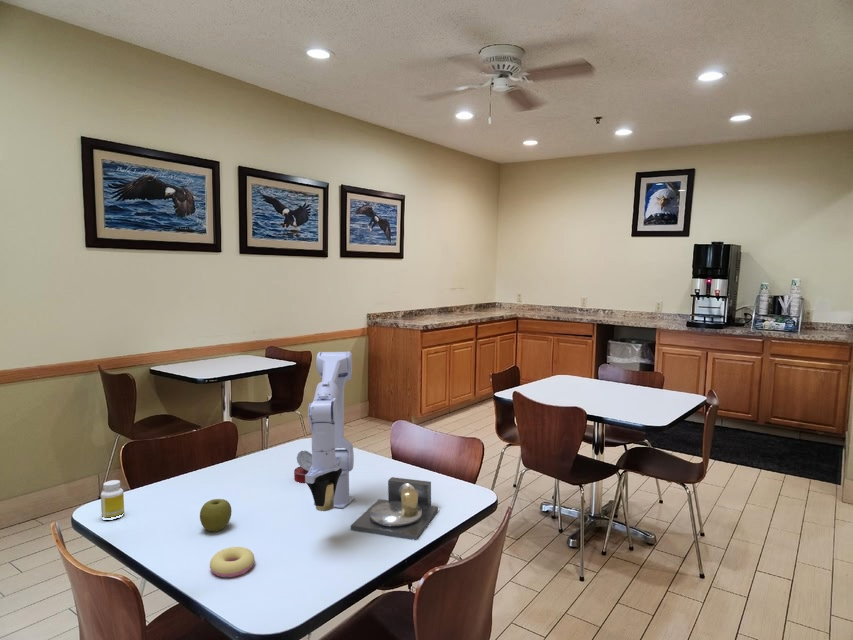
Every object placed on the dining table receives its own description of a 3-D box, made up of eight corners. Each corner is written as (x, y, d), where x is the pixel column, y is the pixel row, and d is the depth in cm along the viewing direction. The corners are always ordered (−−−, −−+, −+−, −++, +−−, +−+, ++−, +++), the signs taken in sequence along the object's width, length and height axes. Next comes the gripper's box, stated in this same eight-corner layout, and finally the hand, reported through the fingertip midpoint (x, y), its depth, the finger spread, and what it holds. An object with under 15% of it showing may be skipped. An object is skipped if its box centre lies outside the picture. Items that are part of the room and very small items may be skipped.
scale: (350, 530, 141) (350, 503, 140) (382, 499, 161) (382, 476, 160) (416, 540, 135) (415, 512, 134) (441, 506, 155) (441, 482, 154)
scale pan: (361, 522, 142) (360, 519, 142) (382, 501, 155) (382, 498, 155) (411, 529, 137) (411, 526, 137) (428, 507, 151) (428, 504, 151)
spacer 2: (399, 516, 143) (398, 493, 143) (404, 509, 148) (404, 487, 147) (415, 518, 142) (414, 495, 142) (419, 511, 146) (419, 489, 146)
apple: (237, 523, 145) (237, 497, 145) (220, 537, 137) (219, 509, 137) (212, 520, 147) (211, 495, 146) (193, 534, 139) (192, 507, 139)
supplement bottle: (128, 515, 151) (127, 480, 150) (110, 523, 146) (108, 487, 145) (115, 511, 153) (114, 477, 153) (97, 519, 148) (95, 484, 148)
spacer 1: (312, 509, 134) (312, 486, 134) (321, 503, 139) (321, 480, 138) (328, 512, 133) (327, 488, 133) (337, 505, 137) (336, 481, 137)
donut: (245, 563, 129) (204, 570, 124) (246, 543, 130) (205, 548, 124) (259, 574, 121) (216, 582, 116) (261, 553, 122) (217, 559, 116)
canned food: (313, 486, 184) (325, 457, 187) (323, 492, 175) (335, 462, 178) (283, 475, 179) (295, 446, 182) (292, 482, 171) (305, 451, 173)
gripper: (323, 458, 127) (324, 515, 128) (351, 441, 140) (352, 492, 141) (296, 455, 129) (298, 511, 130) (327, 439, 143) (328, 489, 144)
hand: (324, 501), depth 136 cm, fingers closed on spacer 1, 4 cm apart
